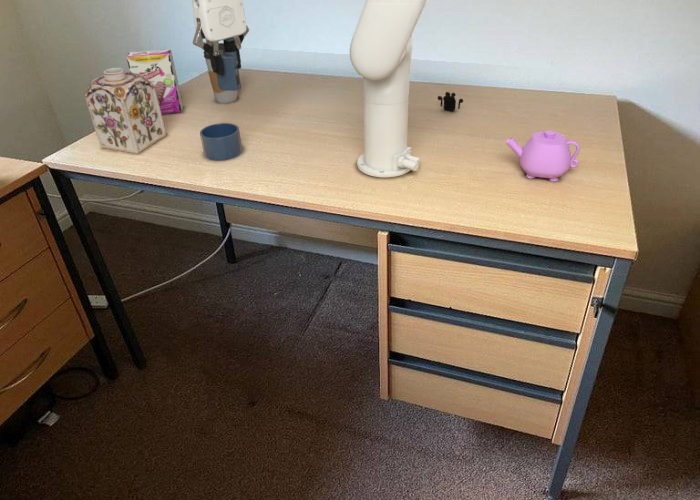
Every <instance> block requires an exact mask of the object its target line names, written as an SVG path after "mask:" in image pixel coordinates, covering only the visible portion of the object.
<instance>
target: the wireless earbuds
mask: <svg viewBox="0 0 700 500" xmlns="http://www.w3.org/2000/svg"><path fill="white" fill-rule="evenodd" d="M444 94H445V95H444V96H443V97H442V96H441V95H438V96H437V100H438V101H440V107H443V110H444V111H448V112H455V110H456V105H457V104H458V106H457V110H460V108H461V104H463V103H464V99H463V98H459V99H458V103H457V99H456V98H455V97H456V95H457V94H456V93H455V92H451V93H450V92H449V91H446V92H445V93H444Z"/></svg>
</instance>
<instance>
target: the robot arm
mask: <svg viewBox="0 0 700 500" xmlns="http://www.w3.org/2000/svg"><path fill="white" fill-rule="evenodd" d="M191 2H192V3H191V4H192V15H193V22H194V28H195V33H194V35H193V40H192V45H194V46H196V47H198V48H200V49H202V50H203V52H204V51H206V53H207V54H209V55H210V61H211V67H212V69H213V72H214V73H217V74H221V75H222V74H224V68H223V62H222V56H221V55H219V43H220V42H221V41H223V40H225V39H229V38H232V37H234V40H235V47H236V54H237V59H238V70H241V69H242V59H241V53H240V50H241V49H242V43H243V42H244V39H245V37H246V36H247V35H248V33H249V32H250V28H249V26H248V25H247V21H246V15H245V9H244V6H243V0H191ZM429 2H430V0H365V3H364V6H363V9H362V11H361V13H360V16H359V19H358V22H357V24H356V27H355V29H354V33H353V35H352V38H351V41H350V45H349V46H350V47H349V59H350V63H351V65H352V68H353V69H354V70H355V72H356V73H357V74H358V76H360V77H362V126H363V128H362V129H363V153H362V154H361V155H359V156H358V158H357V160H356V165H357V166H356V167H357V169H358V170H359V171H360V172H361V173H363V174H365V175H367V176H370V177H375V178H396V177H401V176H403V175H405V174H407V173H409V172H410V171H413V172H417V171H418V170H419V169H420V164H421V160H422V159H421V157H418V156H414V155H413V154H412V147H411V146H408V143H409V142H408V138H409V101H410V100H409V99H410V80H411V79H410V77H411V66H412V65H411V64H412V56H413V33H414V31H415V28H416V26H417V24H418V23H419V20H420V18H421V15H422V13H423V11H424V9H425V8H426V7H427V5H428V4H429ZM203 40H205V41H203Z"/></svg>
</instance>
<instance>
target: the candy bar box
mask: <svg viewBox="0 0 700 500" xmlns="http://www.w3.org/2000/svg"><path fill="white" fill-rule="evenodd" d="M125 58H126V62H127V65H128V69H129V72H132V73H139V74H141V75H142V76H143V77H144V78H146V79H147V80H148V81H150V82H151V83H152V84H153V85H154V87H155V91H156V95H157V98H158V102H159V106H160V110H161V114H162V115H169V114H179V113H180V114H181V113H183V109H184V104H183V99H182V93H181V89H180V86H179V81H178V75H177V72H176V66H175V62H174V56H173V52H172V49H171V48H168V49H167V48H166V49H164V48H163V49H153V50H152V49H151V50H138V51H137V50H136V51H129V52H128V54H127V55H126V57H125Z"/></svg>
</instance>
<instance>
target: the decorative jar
mask: <svg viewBox="0 0 700 500" xmlns="http://www.w3.org/2000/svg"><path fill="white" fill-rule="evenodd" d="M125 70H126V69H124V68H122V67H112V68H107V69H105V70H104V71H103V75H100V76H98V77H97V78H94V79H92V80H91V82H90V84H89V86H88V87H87V90H86V92H85V94H84V100H85V103H86V107H87V109H88V111H89V115H90V118H91V119H90V120H91V121H92V125H93V127H94V131H95V134H96V137H97V140H98V143H99V144H100V147H101V148H102V149H106V150H107V149H108V150H113V151H118V152H124V153H125V152H126V153H131V154H140V153H142V152H144V150H146V149H147V148H149V147H150V146H153V145H154V144H155V143H157V142H159V141H160V140H161V139H163V138H164V137H166V136H167V131H166V128H165V123H164V118H163V114H161V110H160V106H159V102H158V98H157V95H156V91H155V87H154V85H153V84H152V83H151V82H150V81H148V80H147V79H146V78H144V77H143V76H142V75H141V74H139V73H132V72H130V71H125Z"/></svg>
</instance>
